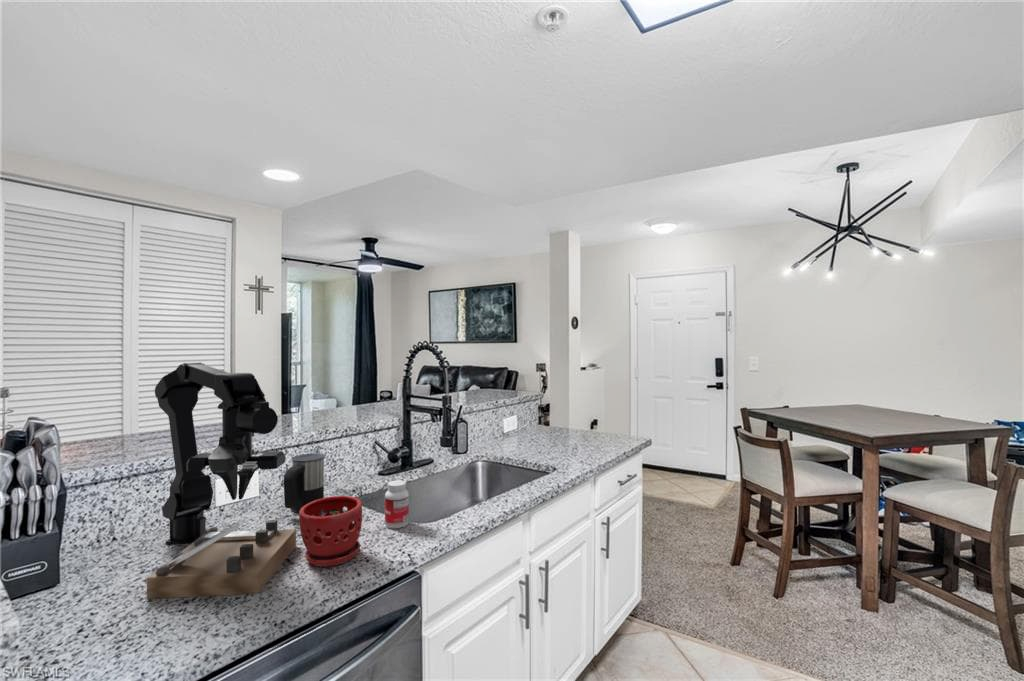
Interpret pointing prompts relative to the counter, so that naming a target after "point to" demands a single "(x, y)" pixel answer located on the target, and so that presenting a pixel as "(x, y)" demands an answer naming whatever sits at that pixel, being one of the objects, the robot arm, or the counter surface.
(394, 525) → the pill bottle
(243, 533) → the strap
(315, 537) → the plant pot
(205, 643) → the counter surface
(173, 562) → the strap
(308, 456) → the milk frother
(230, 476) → the robot arm
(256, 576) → the block
